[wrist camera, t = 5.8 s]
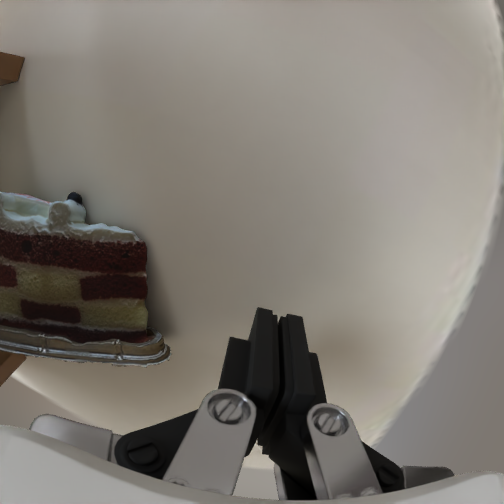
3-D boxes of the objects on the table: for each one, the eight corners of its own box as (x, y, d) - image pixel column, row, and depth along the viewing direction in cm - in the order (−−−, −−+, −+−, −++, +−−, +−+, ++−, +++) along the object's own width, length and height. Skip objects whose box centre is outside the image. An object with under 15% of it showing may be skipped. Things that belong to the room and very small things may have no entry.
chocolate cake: (201, 202, 11) (-82, 165, 3) (186, 363, 11) (-72, 373, 3) (127, 208, 18) (-29, 190, 9) (119, 306, 18) (-32, 303, 10)
